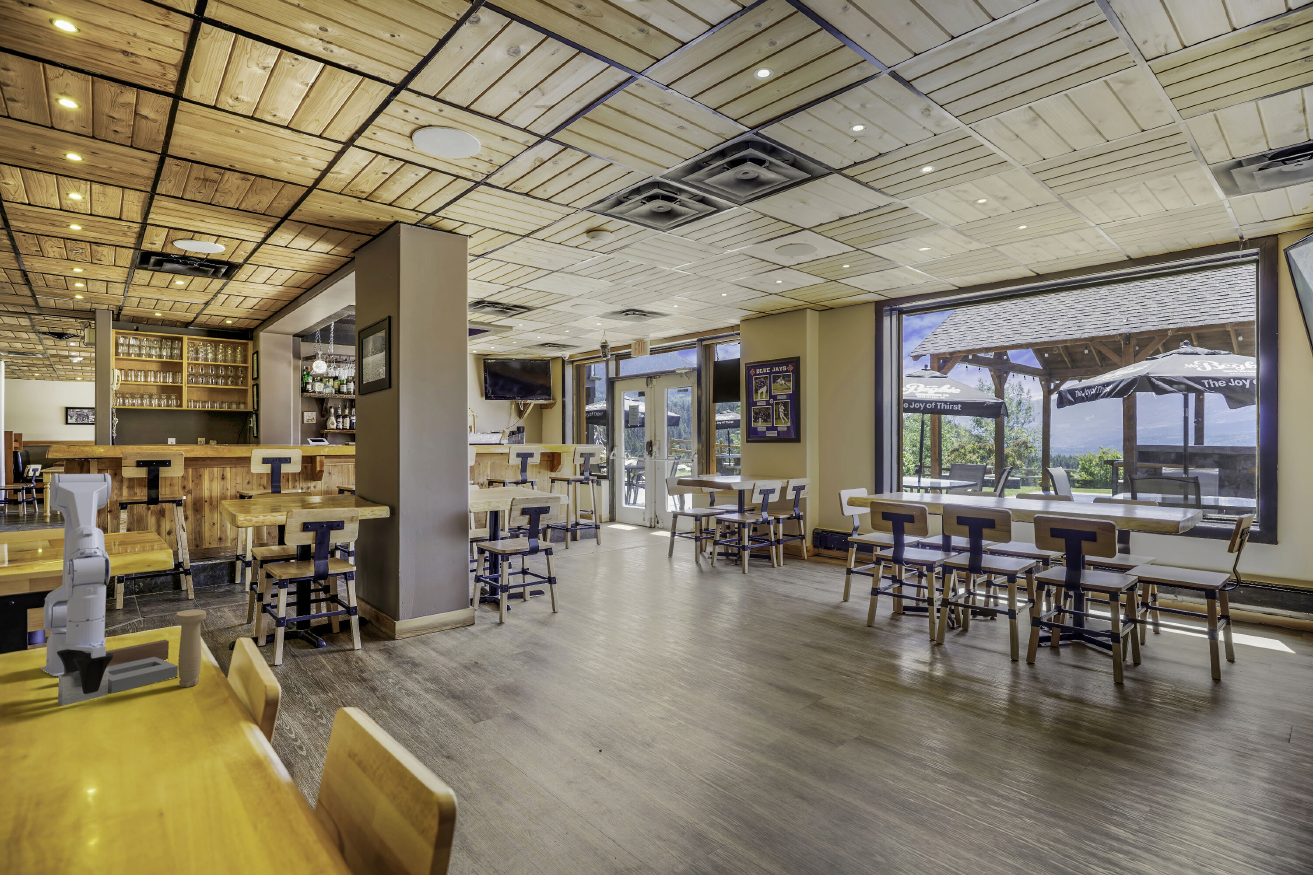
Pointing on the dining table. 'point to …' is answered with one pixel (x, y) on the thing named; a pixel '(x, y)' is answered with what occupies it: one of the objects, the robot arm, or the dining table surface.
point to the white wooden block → (78, 688)
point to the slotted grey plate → (139, 673)
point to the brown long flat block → (139, 652)
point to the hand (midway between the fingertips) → (83, 688)
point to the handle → (190, 646)
